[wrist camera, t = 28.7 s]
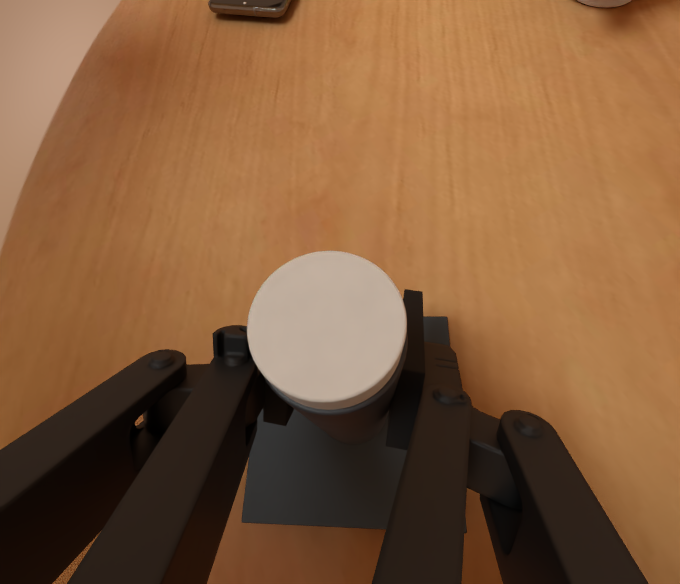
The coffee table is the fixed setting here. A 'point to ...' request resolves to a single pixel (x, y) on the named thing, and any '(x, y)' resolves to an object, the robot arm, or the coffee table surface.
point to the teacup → (604, 3)
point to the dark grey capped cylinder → (331, 341)
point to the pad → (325, 471)
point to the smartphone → (250, 7)
